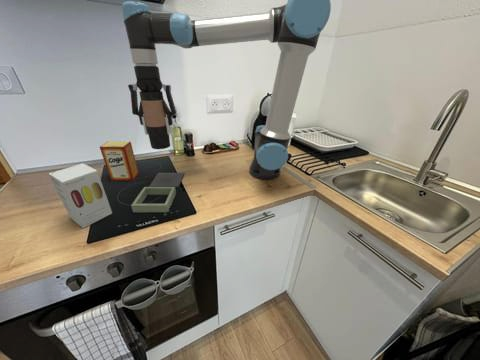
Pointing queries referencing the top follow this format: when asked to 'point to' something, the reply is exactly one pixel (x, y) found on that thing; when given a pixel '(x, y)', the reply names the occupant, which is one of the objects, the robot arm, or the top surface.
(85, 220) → the supplement box
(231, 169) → the top surface
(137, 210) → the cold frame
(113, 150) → the baking soda box
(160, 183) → the rubber mat
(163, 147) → the travel mug
